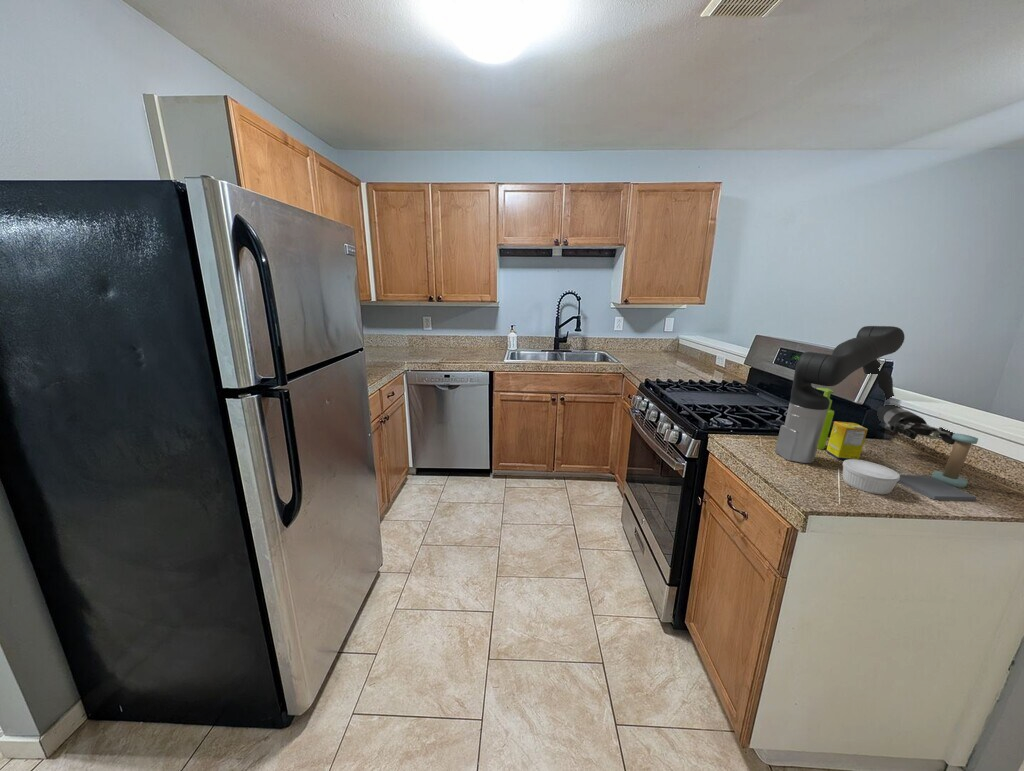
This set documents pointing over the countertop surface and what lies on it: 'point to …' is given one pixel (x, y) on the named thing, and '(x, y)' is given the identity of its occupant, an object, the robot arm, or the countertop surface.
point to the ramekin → (869, 476)
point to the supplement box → (846, 440)
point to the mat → (934, 488)
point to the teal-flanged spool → (956, 461)
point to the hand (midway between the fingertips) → (933, 438)
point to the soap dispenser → (826, 420)
